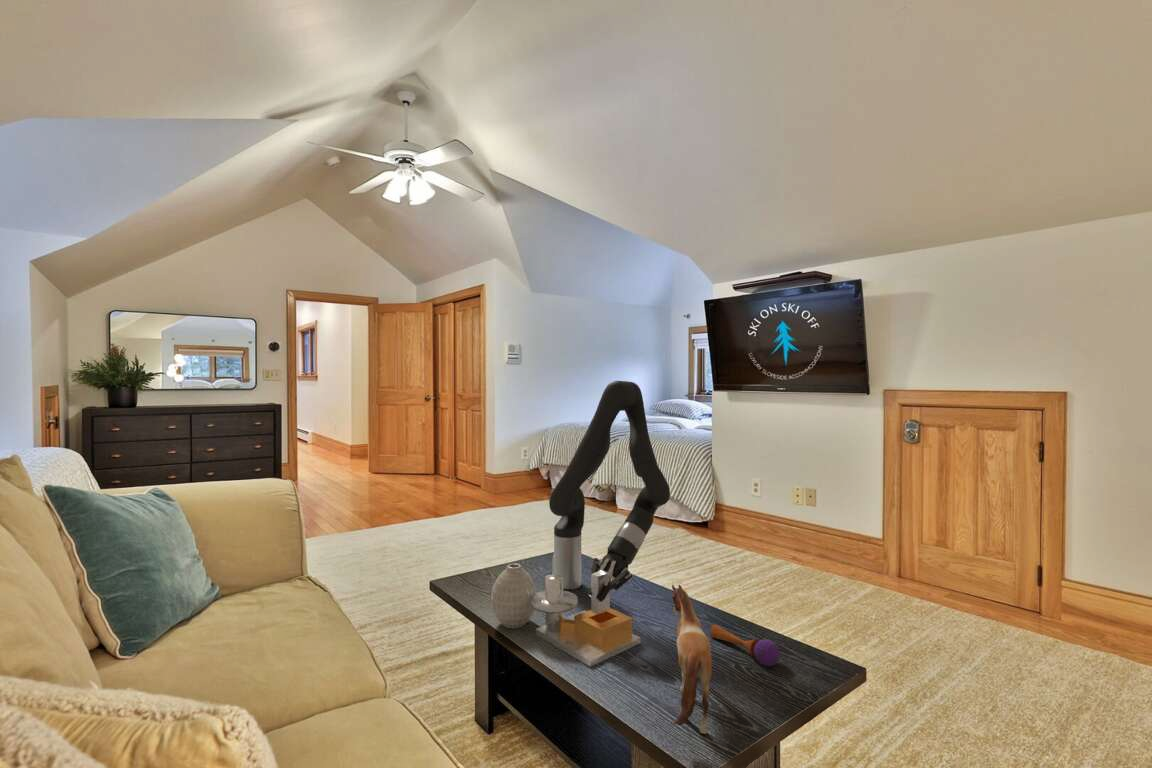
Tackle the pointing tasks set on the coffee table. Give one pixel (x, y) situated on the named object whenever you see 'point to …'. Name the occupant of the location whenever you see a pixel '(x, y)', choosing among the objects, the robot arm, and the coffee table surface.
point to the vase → (513, 597)
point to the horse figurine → (691, 657)
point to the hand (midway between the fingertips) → (594, 597)
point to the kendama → (751, 646)
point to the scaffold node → (581, 625)
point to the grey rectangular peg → (596, 585)
